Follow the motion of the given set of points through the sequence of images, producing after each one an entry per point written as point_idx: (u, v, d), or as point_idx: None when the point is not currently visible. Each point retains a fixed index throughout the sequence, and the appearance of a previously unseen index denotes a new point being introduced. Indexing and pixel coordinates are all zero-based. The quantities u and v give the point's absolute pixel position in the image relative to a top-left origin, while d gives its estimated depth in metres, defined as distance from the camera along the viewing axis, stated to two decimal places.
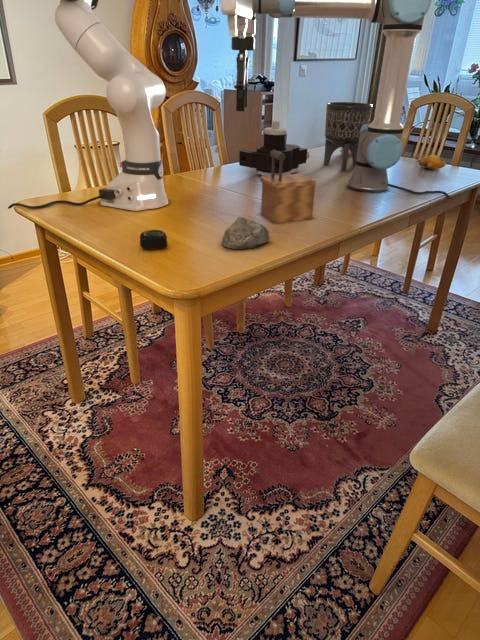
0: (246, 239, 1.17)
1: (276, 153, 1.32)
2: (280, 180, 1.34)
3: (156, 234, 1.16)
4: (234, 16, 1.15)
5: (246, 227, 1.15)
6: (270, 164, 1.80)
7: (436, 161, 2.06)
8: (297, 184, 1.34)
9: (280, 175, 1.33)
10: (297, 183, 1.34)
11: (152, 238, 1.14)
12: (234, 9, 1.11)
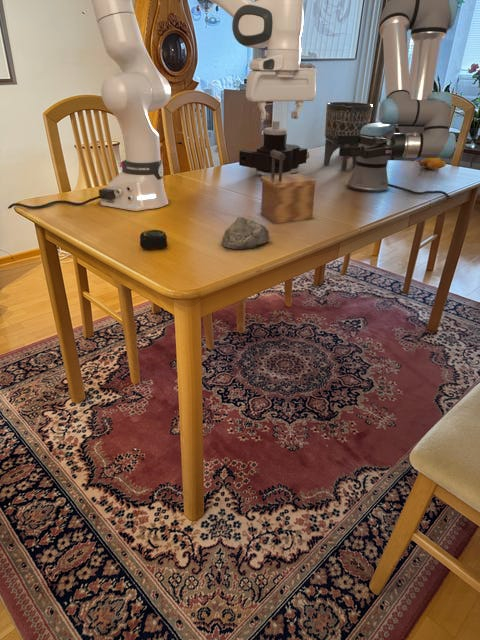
0: (246, 239, 1.17)
1: (276, 153, 1.32)
2: (280, 180, 1.34)
3: (156, 234, 1.16)
4: (261, 102, 1.23)
5: (246, 227, 1.15)
6: (270, 164, 1.80)
7: (436, 161, 2.06)
8: (297, 184, 1.34)
9: (280, 175, 1.33)
10: (297, 183, 1.34)
11: (152, 238, 1.14)
12: (251, 97, 1.20)
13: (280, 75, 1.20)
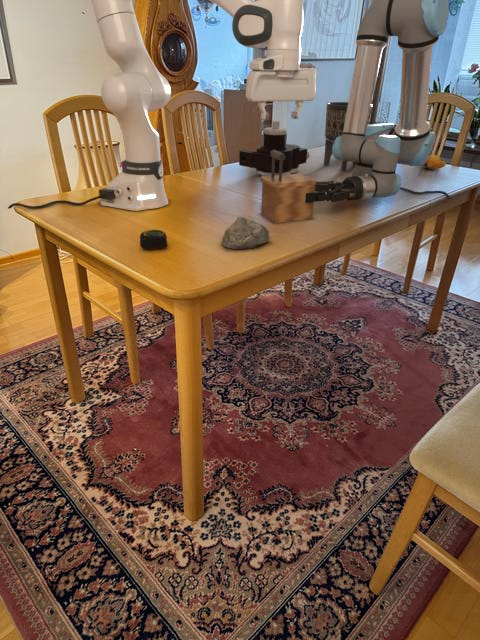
0: (246, 239, 1.17)
1: (276, 153, 1.32)
2: (280, 180, 1.34)
3: (156, 234, 1.16)
4: (261, 102, 1.23)
5: (246, 227, 1.15)
6: (270, 164, 1.80)
7: (436, 161, 2.06)
8: (297, 184, 1.34)
9: (280, 175, 1.33)
10: (297, 183, 1.34)
11: (152, 238, 1.14)
12: (251, 97, 1.20)
13: (280, 75, 1.20)
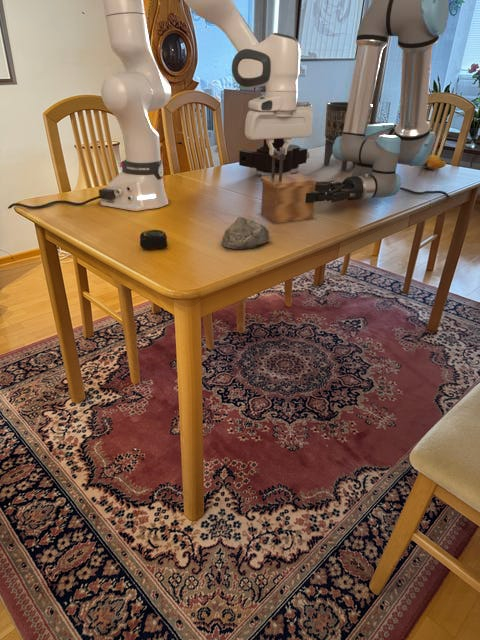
0: (246, 239, 1.17)
1: (276, 153, 1.32)
2: (280, 180, 1.34)
3: (156, 234, 1.16)
4: (269, 139, 1.28)
5: (246, 227, 1.15)
6: (270, 164, 1.80)
7: (436, 161, 2.06)
8: (297, 184, 1.34)
9: (280, 175, 1.33)
10: (297, 183, 1.34)
11: (152, 238, 1.14)
12: (250, 136, 1.25)
13: (278, 115, 1.24)
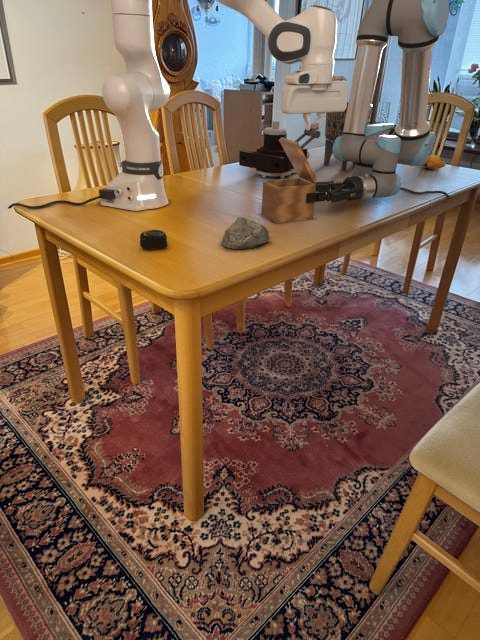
0: (246, 239, 1.17)
1: None
2: None
3: (156, 234, 1.16)
4: (306, 114, 1.29)
5: (246, 227, 1.15)
6: (270, 164, 1.80)
7: (436, 161, 2.06)
8: (307, 166, 1.33)
9: (303, 145, 1.31)
10: (308, 165, 1.33)
11: (152, 238, 1.14)
12: (286, 110, 1.26)
13: (314, 88, 1.25)
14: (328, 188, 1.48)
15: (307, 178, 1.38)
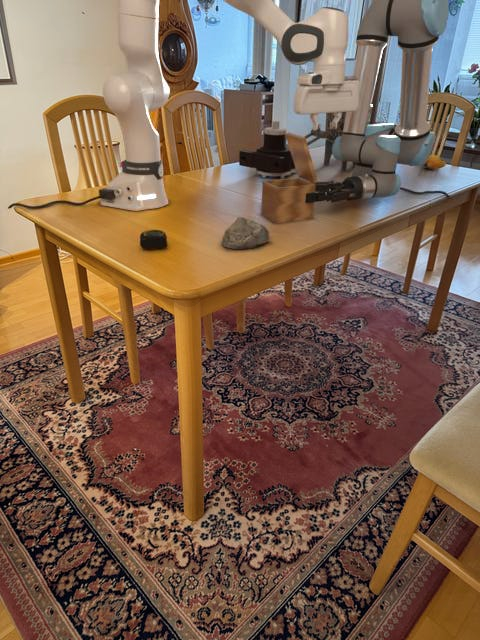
0: (246, 239, 1.17)
1: (321, 130, 1.34)
2: None
3: (156, 234, 1.16)
4: (313, 114, 1.30)
5: (246, 227, 1.15)
6: (270, 164, 1.80)
7: (436, 161, 2.06)
8: (310, 163, 1.33)
9: (309, 143, 1.32)
10: (311, 163, 1.33)
11: (152, 238, 1.14)
12: (299, 111, 1.27)
13: (327, 89, 1.27)
14: (328, 188, 1.48)
15: (307, 177, 1.38)
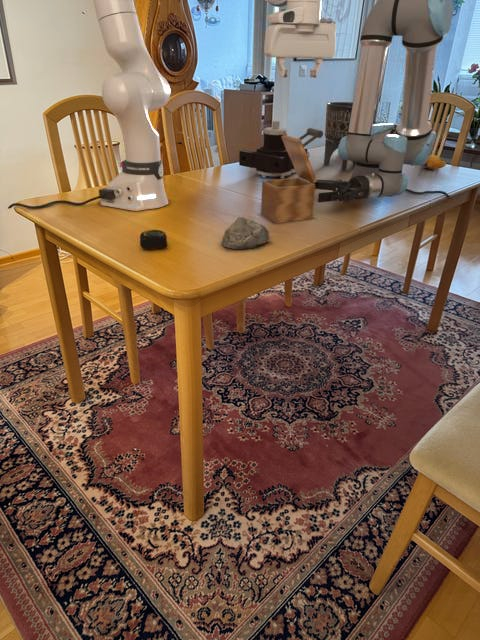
0: (246, 239, 1.17)
1: (316, 129, 1.33)
2: None
3: (156, 234, 1.16)
4: (279, 58, 1.19)
5: (246, 227, 1.15)
6: (270, 164, 1.80)
7: (436, 161, 2.06)
8: (308, 164, 1.33)
9: (305, 144, 1.31)
10: (308, 164, 1.33)
11: (152, 238, 1.14)
12: (270, 52, 1.17)
13: (300, 29, 1.16)
14: (334, 186, 1.49)
15: (307, 177, 1.38)
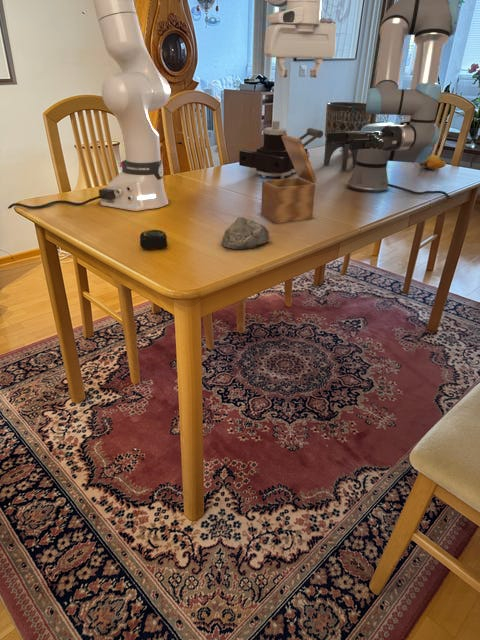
0: (246, 239, 1.17)
1: (316, 129, 1.33)
2: None
3: (156, 234, 1.16)
4: (279, 58, 1.19)
5: (246, 227, 1.15)
6: (270, 164, 1.80)
7: (436, 161, 2.06)
8: (308, 164, 1.33)
9: (305, 144, 1.31)
10: (308, 164, 1.33)
11: (152, 238, 1.14)
12: (270, 52, 1.17)
13: (300, 29, 1.16)
14: (365, 137, 1.45)
15: (307, 177, 1.38)
